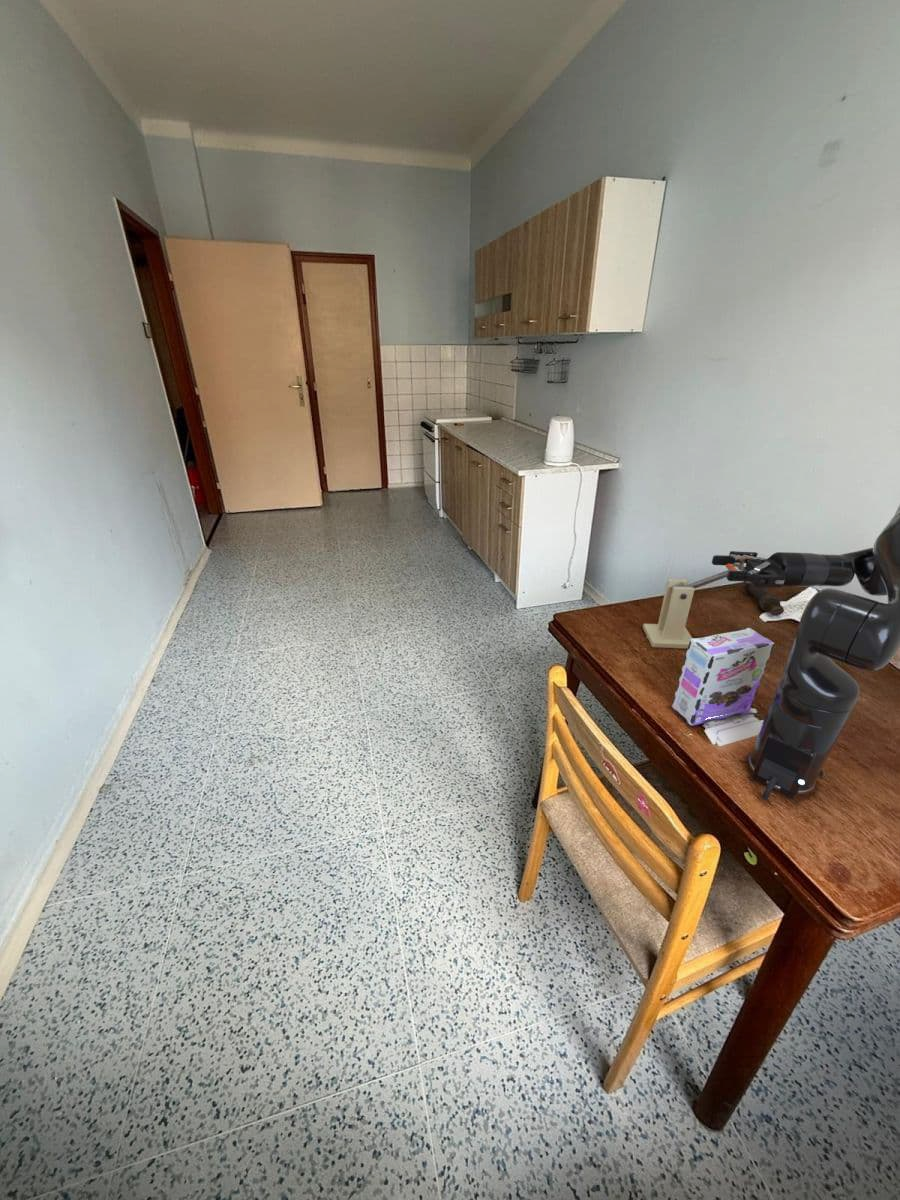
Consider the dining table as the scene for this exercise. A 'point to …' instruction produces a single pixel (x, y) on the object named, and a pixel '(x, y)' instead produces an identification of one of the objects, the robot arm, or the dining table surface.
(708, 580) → the lever
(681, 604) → the bracket
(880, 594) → the robot arm
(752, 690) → the candy box
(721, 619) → the dining table surface
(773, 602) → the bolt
